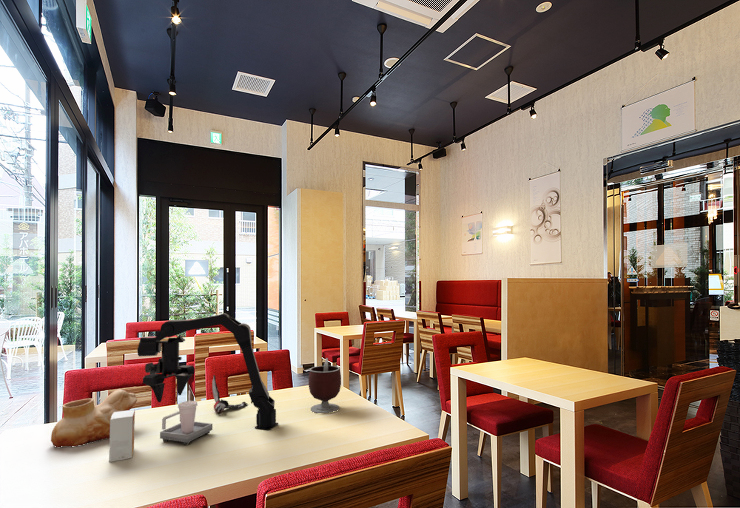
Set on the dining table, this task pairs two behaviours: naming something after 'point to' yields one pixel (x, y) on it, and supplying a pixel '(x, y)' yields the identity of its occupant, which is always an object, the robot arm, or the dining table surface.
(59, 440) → the ceramic vessel
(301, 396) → the dining table surface
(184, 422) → the smoothie
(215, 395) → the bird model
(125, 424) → the small box
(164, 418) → the grey tray
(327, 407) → the mate gourd
